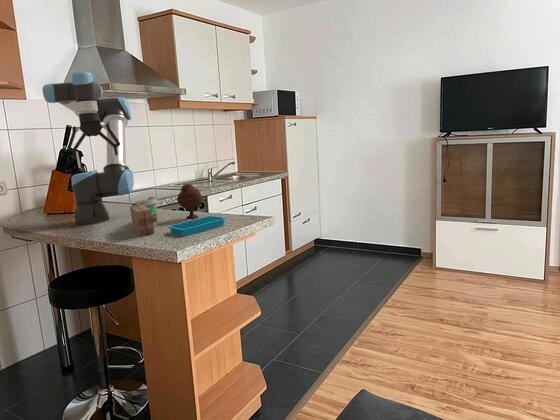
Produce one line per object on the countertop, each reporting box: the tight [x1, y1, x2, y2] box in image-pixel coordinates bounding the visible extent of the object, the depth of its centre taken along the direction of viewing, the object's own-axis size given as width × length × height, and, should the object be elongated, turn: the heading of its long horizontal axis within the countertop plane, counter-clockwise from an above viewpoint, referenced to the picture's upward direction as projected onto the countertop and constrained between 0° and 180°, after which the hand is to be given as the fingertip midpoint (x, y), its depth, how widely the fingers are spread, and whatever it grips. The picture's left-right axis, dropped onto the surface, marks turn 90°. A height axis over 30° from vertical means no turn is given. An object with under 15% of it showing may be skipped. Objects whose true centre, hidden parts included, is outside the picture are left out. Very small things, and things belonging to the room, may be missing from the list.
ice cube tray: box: [167, 215, 227, 237], centre depth 163 cm, size 12×20×3 cm, turn 134°
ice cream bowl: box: [176, 183, 203, 220], centre depth 184 cm, size 11×11×15 cm
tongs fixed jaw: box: [129, 202, 148, 237], centre depth 168 cm, size 21×4×10 cm, turn 27°
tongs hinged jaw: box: [137, 204, 155, 235], centre depth 168 cm, size 17×2×9 cm, turn 27°
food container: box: [134, 196, 158, 223], centre depth 185 cm, size 12×6×10 cm, turn 168°
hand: (97, 165), depth 175 cm, fingers open, 13 cm apart
